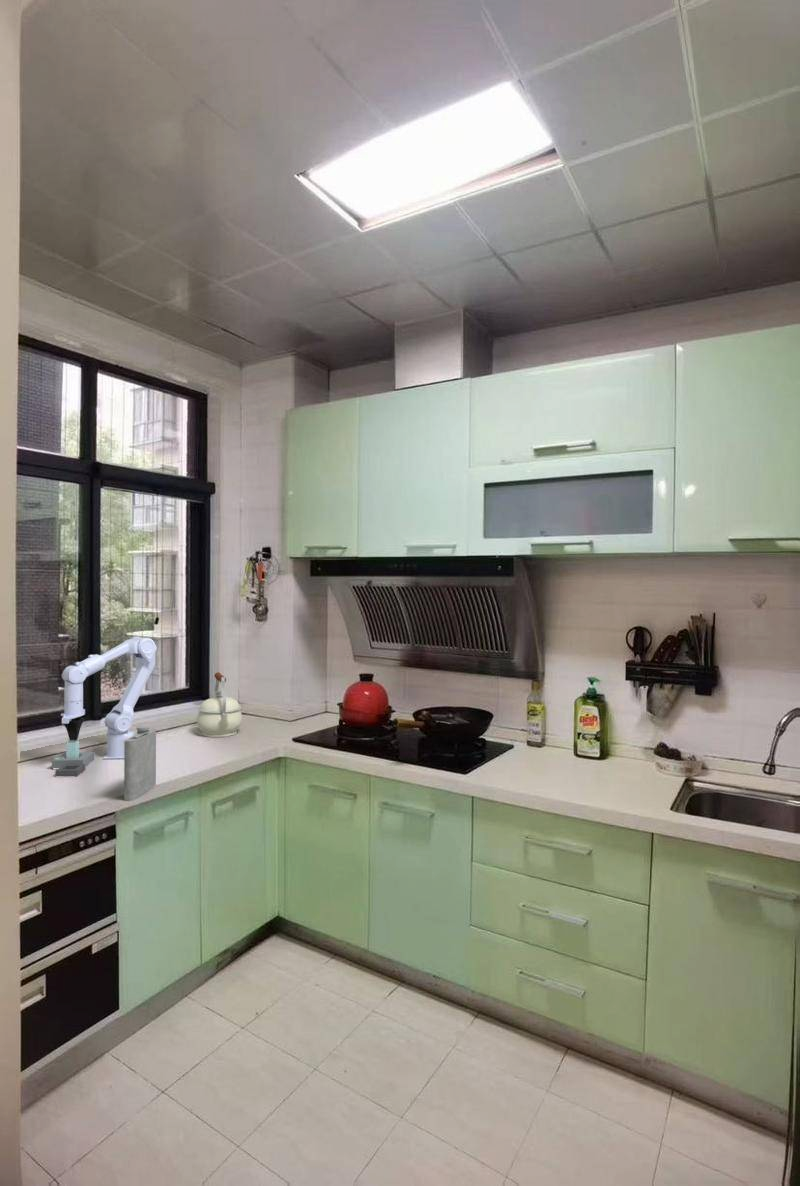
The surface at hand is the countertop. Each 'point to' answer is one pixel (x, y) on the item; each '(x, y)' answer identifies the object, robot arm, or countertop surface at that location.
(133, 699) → the robot arm
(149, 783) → the hip flask
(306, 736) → the countertop surface
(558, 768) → the countertop surface
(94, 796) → the countertop surface
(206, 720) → the kettle
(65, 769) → the grey square base plate
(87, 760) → the socket
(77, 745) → the plug
